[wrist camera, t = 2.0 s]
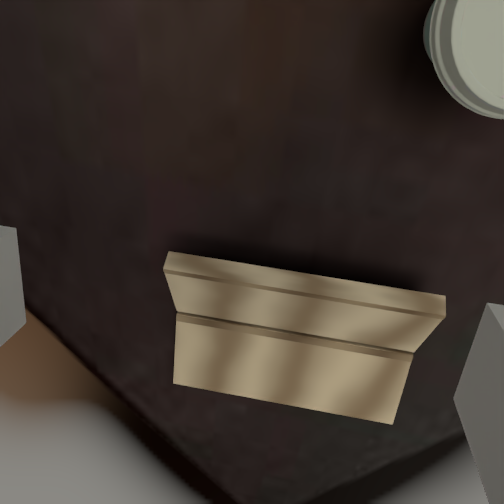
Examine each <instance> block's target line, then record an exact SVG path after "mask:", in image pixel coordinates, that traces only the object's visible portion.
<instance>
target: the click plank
mask: <svg viewBox="0 0 504 504" xmlns="http://www.w3.org/2000/svg"><path fill="white" fill-rule="evenodd" d="M163 271H164V273H165V276H166V279H167V282H168V285H169V288H170V291H171V294H172V298H173V301H174V304H175V307H176V310H177V311H179V312H185V313H191V314H197V315H202V316H208V317H214V318H220V319H225V320H231V321H237V322H243V323H248V324H254V325H260V326H266V327H271V328H277V329H283V330H289V331H294V332H300V333H306V334H312V335H317V336H323V337H329V338H335V339H340V340H346V341H352V342H358V343H363V344H369V345H375V346H381V347H387V348H392V349H398V350H404V351H410V352H415V351H416V350H417V348H418V347H419V346H420V345H421V344H422V343H423V341H424V340H425V339H426V338H427V337H428V336H429V334H430V333H431V332H432V331H433V330H434V329H435V328H436V326H437V325H438V324H439V323H440V322H441V321H442V320H443V319H444V318H445V317H446V299H445V296H442V295H436V294H430V293H424V292H418V291H411V290H405V289H399V288H393V287H387V286H381V285H374V284H368V283H362V282H356V281H350V280H344V279H337V278H331V277H325V276H319V275H313V274H307V273H301V272H294V271H288V270H282V269H276V268H270V267H264V266H257V265H251V264H245V263H239V262H233V261H227V260H221V259H214V258H208V257H202V256H196V255H190V254H184V253H177V252H171V251H169V252H168V255H167V258H166V261H165V265H164V268H163Z"/></svg>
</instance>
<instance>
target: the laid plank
mask: <svg viewBox="0 0 504 504" xmlns="http://www.w3.org/2000/svg"><path fill="white" fill-rule="evenodd" d="M412 359H413V353H412V352H410V351H404V350H398V349H392V348H387V347H381V346H375V345H369V344H363V343H358V342H352V341H346V340H340V339H335V338H329V337H323V336H317V335H312V334H306V333H300V332H294V331H289V330H283V329H277V328H271V327H266V326H260V325H254V324H248V323H243V322H237V321H231V320H225V319H220V318H214V317H208V316H202V315H197V314H191V313H185V312H179V311H178V313H177V315H176V338H175V359H174V379H173V383H174V384H180V385H185V386H190V387H195V388H201V389H206V390H211V391H217V392H222V393H227V394H233V395H238V396H243V397H249V398H254V399H259V400H265V401H270V402H275V403H281V404H286V405H291V406H297V407H302V408H307V409H312V410H318V411H323V412H328V413H334V414H339V415H344V416H350V417H355V418H360V419H366V420H371V421H376V422H382V423H387V424H393V421H394V418H395V414H396V411H397V408H398V404H399V401H400V398H401V394H402V391H403V388H404V384H405V381H406V378H407V374H408V371H409V368H410V364H411V362H412Z"/></svg>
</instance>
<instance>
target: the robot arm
mask: <svg viewBox="0 0 504 504" xmlns="http://www.w3.org/2000/svg"><path fill="white" fill-rule="evenodd" d="M25 323H26V316H25V306H24V297H23V287H22V278H21V269H20V259H19V250H18V241H17V231H16V228H13V227H6V226H0V347H1V346H2V345H3V344H4V343H5V342H6V341H7V340H8V339H9V338H10V337H11V336H12V335H14V334H15V333H16V332H17V331H18V330H19V329H20V328H21V327H22V326H23V325H24V324H25ZM453 399H454V402H455V405H456V408H457V411H458V414H459V417H460V420H461V423H462V426H463V428H464V431H465V434H466V437H467V440H468V443H469V446H470V449H471V452H472V455H473V458H474V460H475V463H476V466H477V469H478V472H479V475H480V478H481V481H482V484H483V487H484V490H485V492H486V496H487V498H488V502H489V504H504V305H498V304H492V303H487V304H486V307H485V310H484V313H483V315H482V318H481V321H480V324H479V327H478V330H477V333H476V335H475V338H474V341H473V344H472V347H471V350H470V352H469V355H468V358H467V361H466V364H465V367H464V369H463V372H462V375H461V378H460V381H459V384H458V387H457V389H456V392H455V395H454V398H453Z"/></svg>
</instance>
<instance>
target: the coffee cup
mask: <svg viewBox="0 0 504 504" xmlns="http://www.w3.org/2000/svg"><path fill="white" fill-rule="evenodd" d="M423 41H424V46H425V50H426V52H427V54H428V56H429V58H430V60H431V61H432V62H433V65H434V68H435V71H436V73H437V75H438V77H439V79H440V81H441V83H442V84H443V86H444V87H445V89H446V90H447V91H448V92H449V94H450V95H451V96H452V97H453V98H454V99H455V100H456V101H458V102H459V103H460V104H462V105H463V106H464V107H466V108H468V109H469V110H471V111H473V112H476V113H478V114H481V115H484V116H487V117H492V118H497V119H504V0H435V1H434V2H433V4H432V5H431V7H430V9H429V11H428V13H427V16H426V19H425V23H424V28H423Z"/></svg>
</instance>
